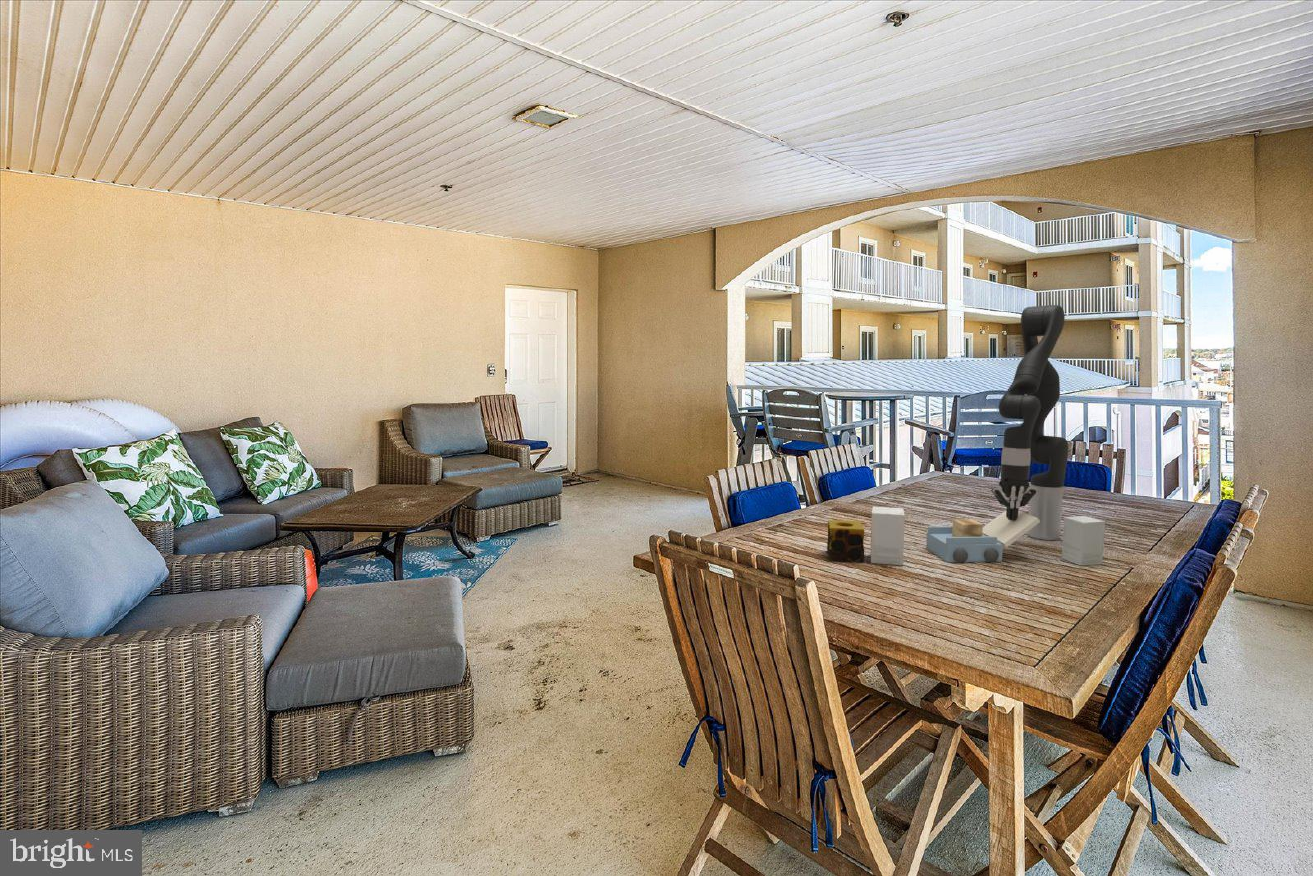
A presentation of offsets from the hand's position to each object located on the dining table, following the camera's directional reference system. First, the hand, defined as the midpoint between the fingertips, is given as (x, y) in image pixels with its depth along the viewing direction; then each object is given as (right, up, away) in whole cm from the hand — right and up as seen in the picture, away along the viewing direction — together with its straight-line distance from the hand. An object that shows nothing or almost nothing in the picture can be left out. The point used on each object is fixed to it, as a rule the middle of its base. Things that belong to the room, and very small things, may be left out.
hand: (1011, 520), depth 195 cm
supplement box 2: (+17, -12, -6) cm, 21 cm away
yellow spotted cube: (-50, -11, 0) cm, 51 cm away
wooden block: (-13, -6, +1) cm, 14 cm away
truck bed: (-14, -11, +1) cm, 18 cm away
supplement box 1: (-39, -12, -4) cm, 41 cm away
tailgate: (-6, -6, +1) cm, 9 cm away
